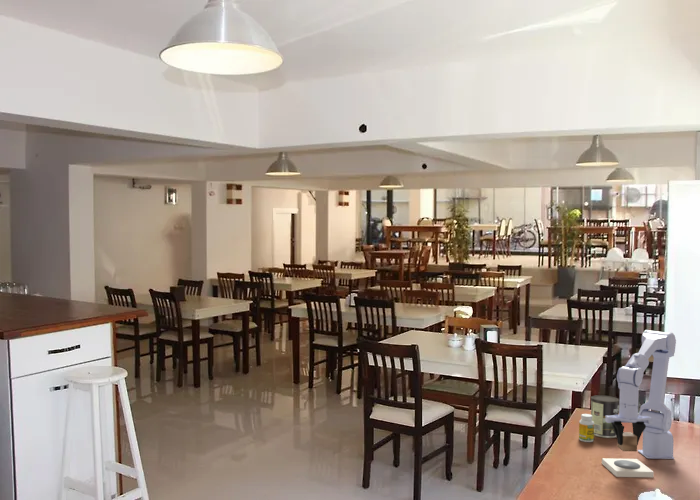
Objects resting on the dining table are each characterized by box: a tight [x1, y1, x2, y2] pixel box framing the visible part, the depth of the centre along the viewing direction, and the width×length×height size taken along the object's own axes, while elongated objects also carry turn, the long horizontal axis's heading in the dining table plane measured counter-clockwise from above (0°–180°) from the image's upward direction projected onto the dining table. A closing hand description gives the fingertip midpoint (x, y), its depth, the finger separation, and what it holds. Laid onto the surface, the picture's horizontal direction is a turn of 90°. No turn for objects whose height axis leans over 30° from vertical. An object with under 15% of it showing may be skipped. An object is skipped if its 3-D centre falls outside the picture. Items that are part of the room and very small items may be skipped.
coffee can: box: [590, 394, 620, 439], centre depth 254 cm, size 10×10×14 cm
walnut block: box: [616, 431, 638, 452], centre depth 216 cm, size 4×4×5 cm
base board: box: [601, 457, 655, 478], centre depth 216 cm, size 12×12×2 cm
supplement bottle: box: [578, 413, 595, 443], centre depth 246 cm, size 5×5×10 cm
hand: (627, 444), depth 215 cm, fingers closed on walnut block, 4 cm apart
